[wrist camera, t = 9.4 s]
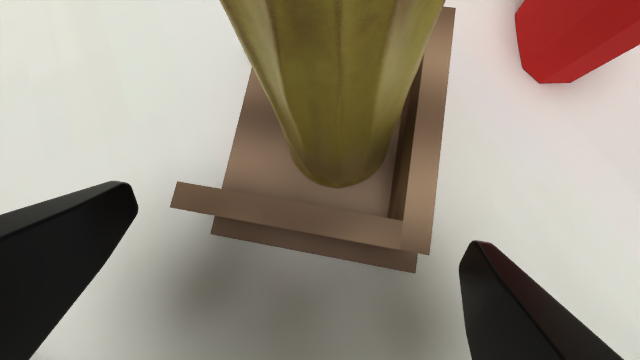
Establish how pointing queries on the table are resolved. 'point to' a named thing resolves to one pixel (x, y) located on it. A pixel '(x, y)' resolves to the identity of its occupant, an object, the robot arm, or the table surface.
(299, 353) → the table surface
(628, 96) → the table surface
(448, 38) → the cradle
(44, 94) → the table surface
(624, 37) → the french fries
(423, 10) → the vase
